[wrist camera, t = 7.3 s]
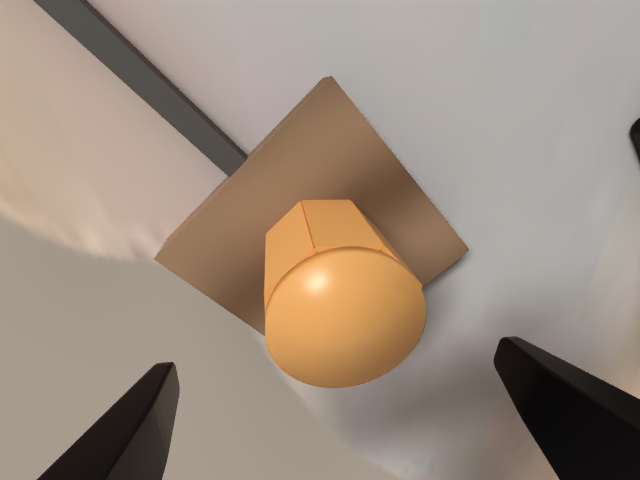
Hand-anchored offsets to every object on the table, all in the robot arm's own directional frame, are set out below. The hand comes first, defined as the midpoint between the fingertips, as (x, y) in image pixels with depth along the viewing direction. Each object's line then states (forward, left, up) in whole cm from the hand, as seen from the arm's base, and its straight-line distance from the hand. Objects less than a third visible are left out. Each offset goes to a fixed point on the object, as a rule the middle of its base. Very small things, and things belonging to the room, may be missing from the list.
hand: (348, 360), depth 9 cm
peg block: (0, 0, -8) cm, 8 cm away
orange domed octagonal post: (0, 0, -6) cm, 6 cm away
